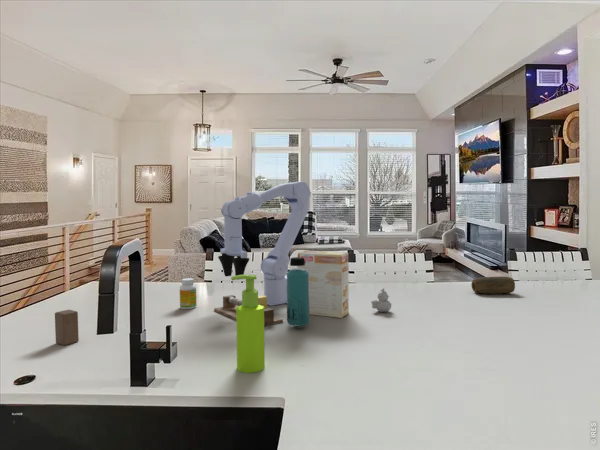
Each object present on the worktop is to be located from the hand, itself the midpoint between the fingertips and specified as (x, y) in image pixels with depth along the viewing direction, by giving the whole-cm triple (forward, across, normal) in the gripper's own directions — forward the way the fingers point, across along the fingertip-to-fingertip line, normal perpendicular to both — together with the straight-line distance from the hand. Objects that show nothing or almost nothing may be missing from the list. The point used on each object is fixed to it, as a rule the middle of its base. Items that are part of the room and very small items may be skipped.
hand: (233, 277), depth 145 cm
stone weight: (+10, +43, +88) cm, 99 cm away
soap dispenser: (+11, +48, -24) cm, 54 cm away
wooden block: (+11, +4, -51) cm, 52 cm away
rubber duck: (+10, +34, +35) cm, 50 cm away
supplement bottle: (+11, -11, -11) cm, 19 cm away
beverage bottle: (+11, +31, +3) cm, 33 cm away
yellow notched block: (+9, +17, -2) cm, 19 cm away
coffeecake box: (+11, +24, +19) cm, 32 cm away
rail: (+10, +11, -2) cm, 15 cm away
